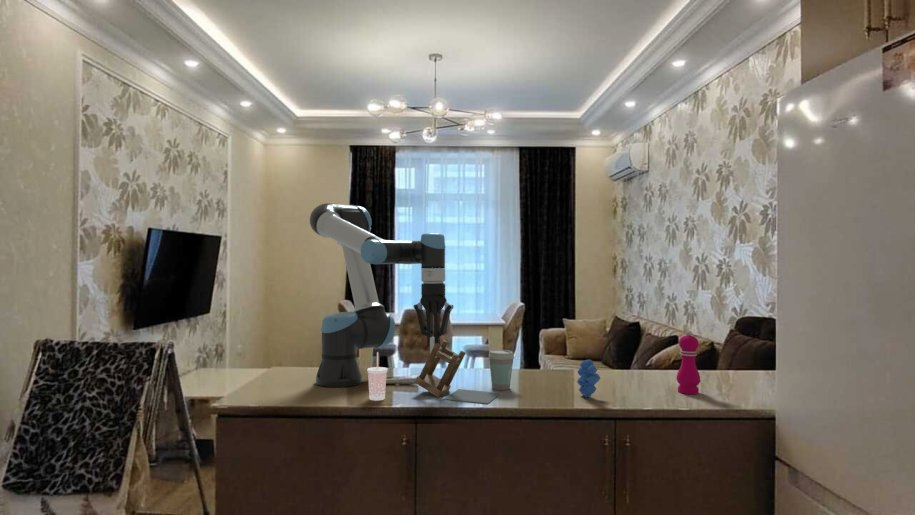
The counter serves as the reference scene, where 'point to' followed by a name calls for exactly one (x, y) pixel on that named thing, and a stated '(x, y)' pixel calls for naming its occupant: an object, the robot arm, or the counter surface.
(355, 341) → the robot arm
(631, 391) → the counter surface
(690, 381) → the pepper mill
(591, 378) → the grapes
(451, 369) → the stool
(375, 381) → the beverage cup
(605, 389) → the counter surface
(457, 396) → the mat
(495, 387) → the coffee cup
